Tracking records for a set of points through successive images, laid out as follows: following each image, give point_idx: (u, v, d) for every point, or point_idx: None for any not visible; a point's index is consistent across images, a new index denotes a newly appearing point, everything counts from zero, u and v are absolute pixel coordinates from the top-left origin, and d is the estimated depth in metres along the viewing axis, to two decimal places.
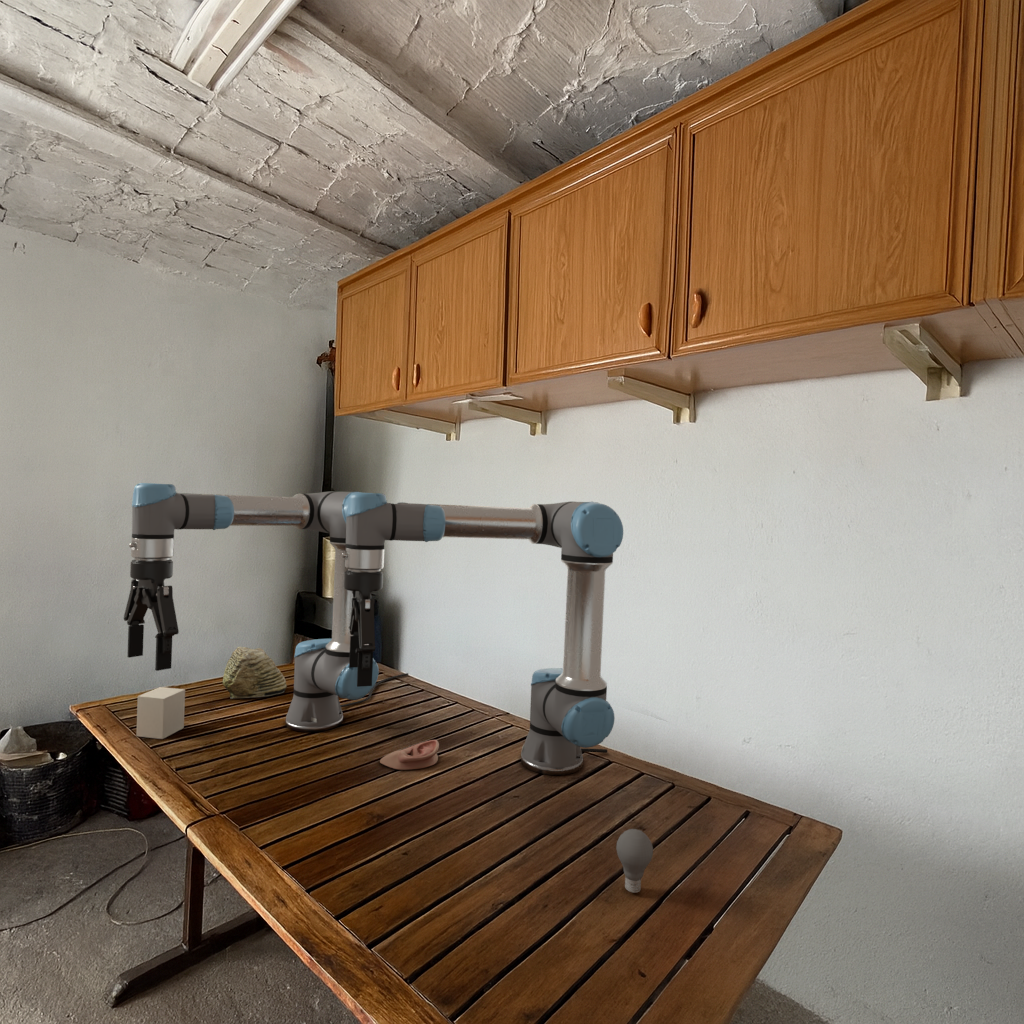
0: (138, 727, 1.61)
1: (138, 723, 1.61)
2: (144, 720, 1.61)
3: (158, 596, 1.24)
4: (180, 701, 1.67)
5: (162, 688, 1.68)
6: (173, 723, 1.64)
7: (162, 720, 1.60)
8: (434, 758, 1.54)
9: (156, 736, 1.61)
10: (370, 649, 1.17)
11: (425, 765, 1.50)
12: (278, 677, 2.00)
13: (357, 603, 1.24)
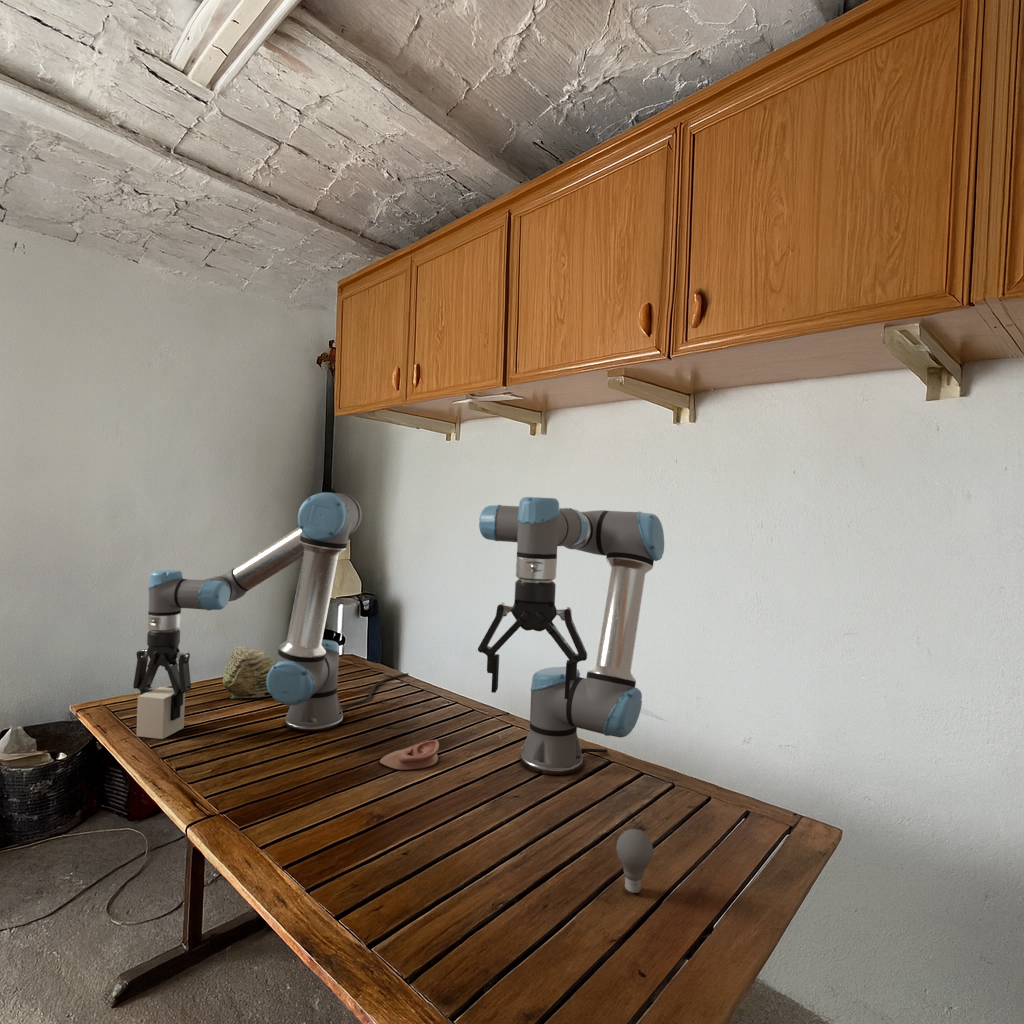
0: (138, 727, 1.61)
1: (138, 723, 1.61)
2: (144, 720, 1.61)
3: (180, 662, 1.63)
4: None
5: (162, 688, 1.68)
6: (173, 723, 1.64)
7: (162, 720, 1.60)
8: (434, 758, 1.54)
9: (156, 736, 1.61)
10: None
11: (425, 765, 1.50)
12: None
13: (543, 615, 1.16)
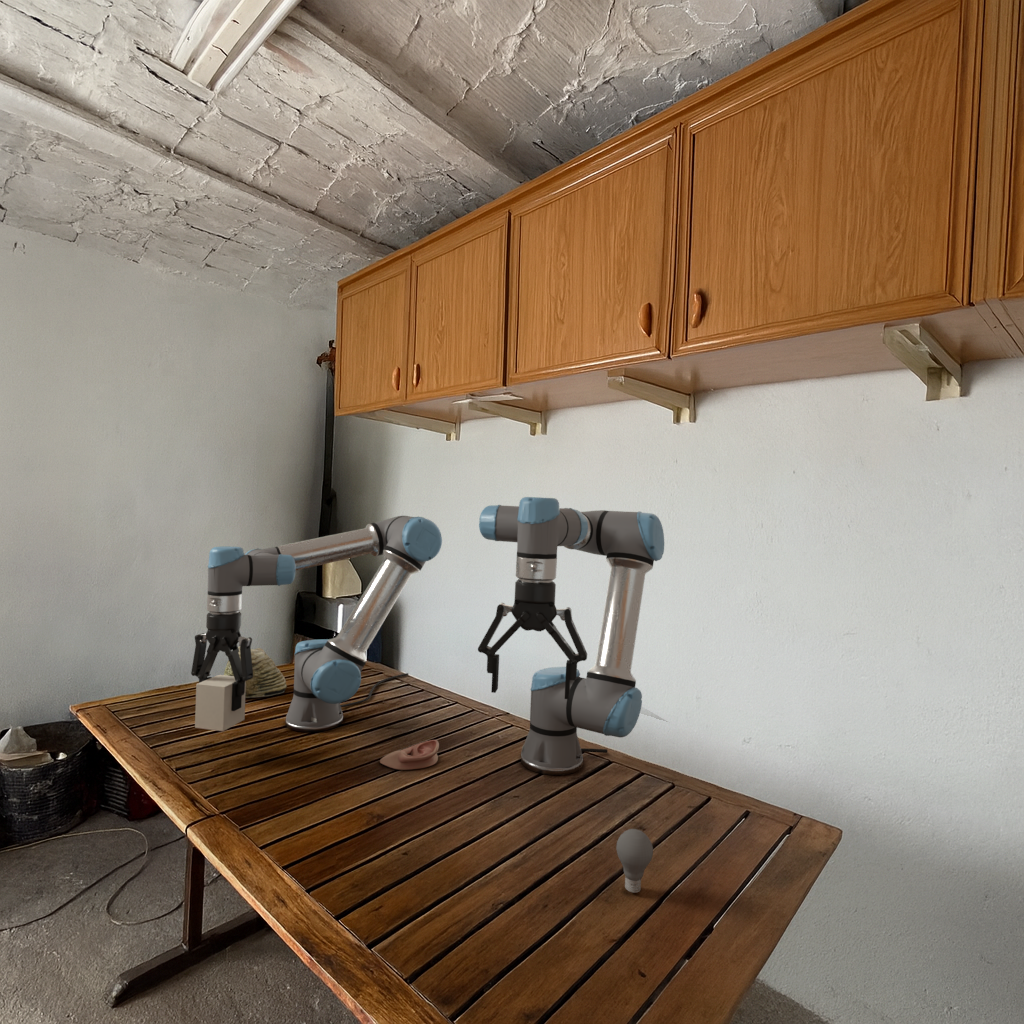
0: (197, 718, 1.47)
1: (197, 713, 1.47)
2: (203, 710, 1.47)
3: (242, 647, 1.48)
4: None
5: (221, 676, 1.54)
6: (234, 714, 1.50)
7: (223, 710, 1.46)
8: (434, 758, 1.54)
9: (216, 728, 1.46)
10: None
11: (425, 765, 1.50)
12: (278, 677, 2.00)
13: (543, 615, 1.16)
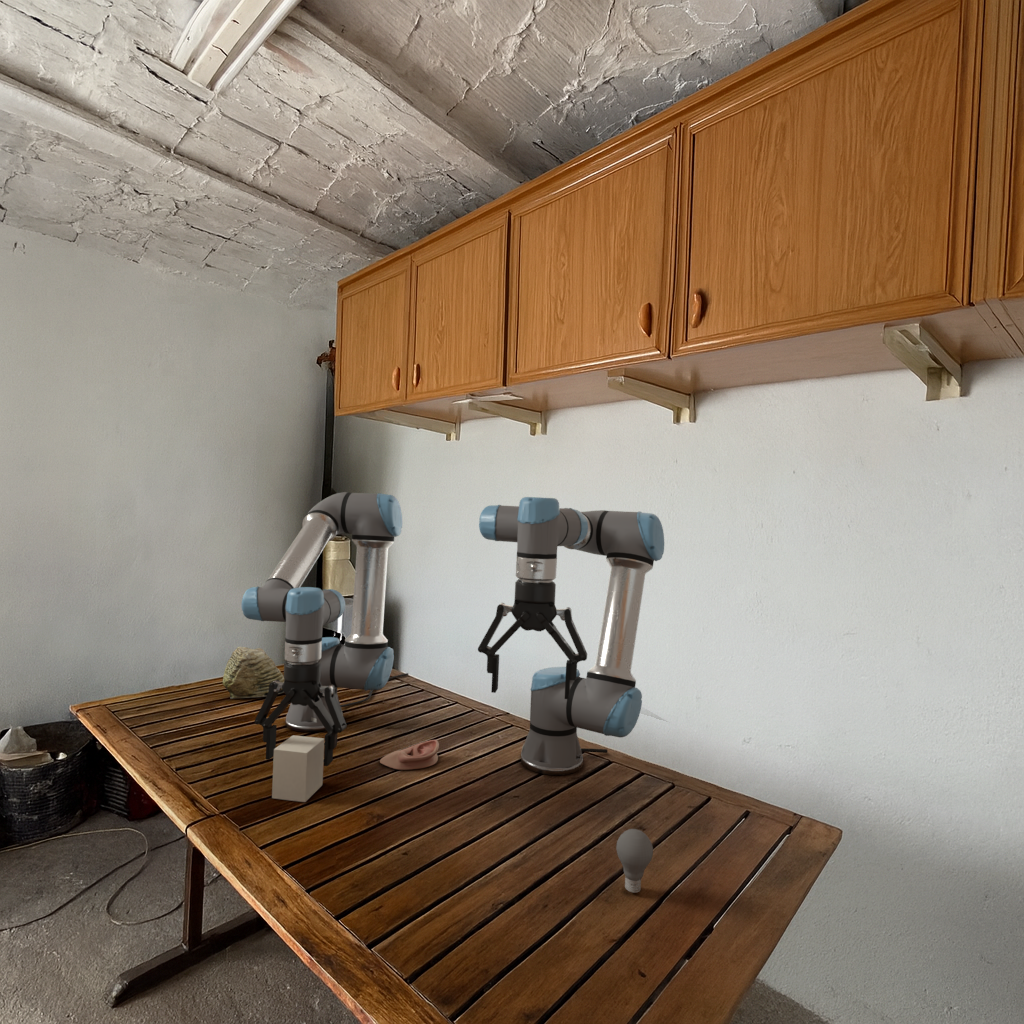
0: (274, 787, 1.32)
1: (274, 782, 1.32)
2: (282, 779, 1.32)
3: (327, 696, 1.33)
4: (320, 753, 1.37)
5: (296, 737, 1.39)
6: (314, 781, 1.35)
7: (305, 779, 1.31)
8: (434, 758, 1.54)
9: (297, 798, 1.31)
10: None
11: (425, 765, 1.50)
12: (278, 677, 2.00)
13: (543, 615, 1.16)
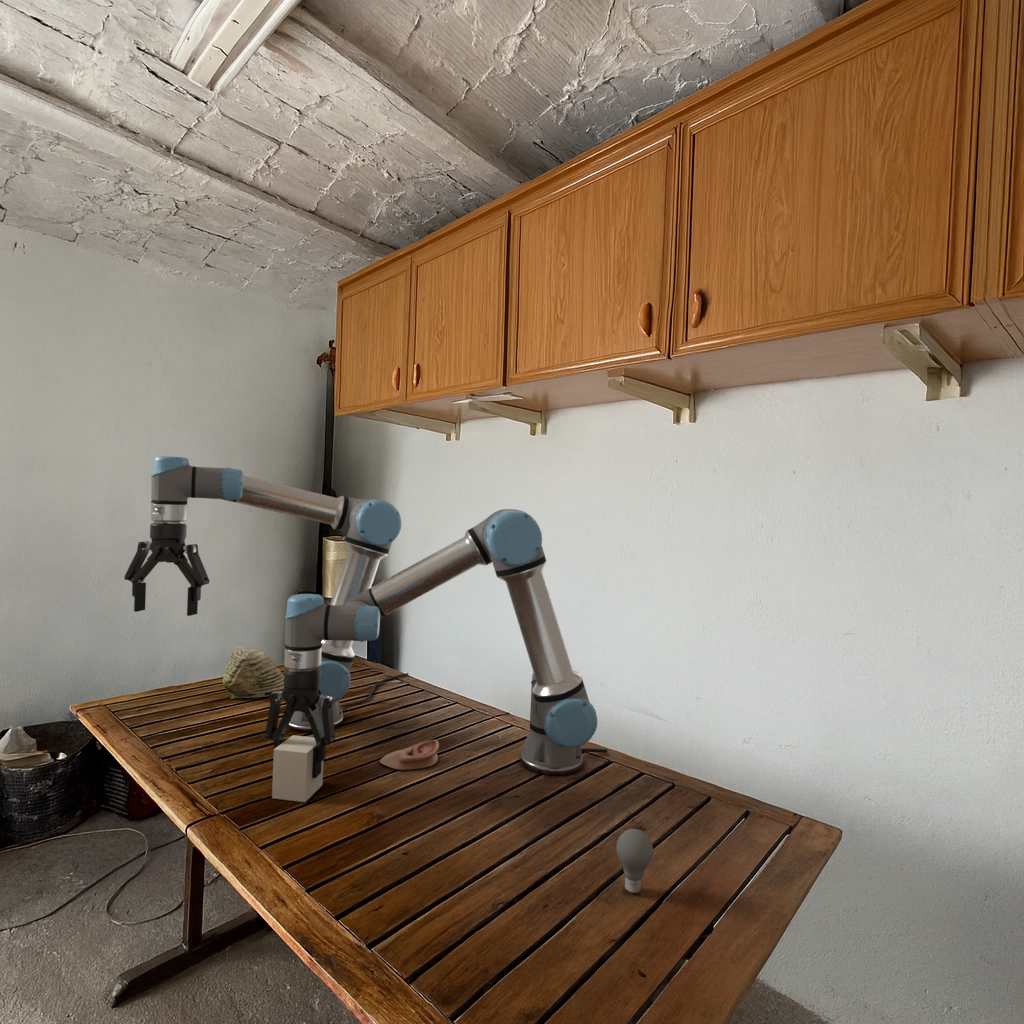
0: (274, 787, 1.32)
1: (274, 782, 1.32)
2: (282, 779, 1.32)
3: (189, 552, 1.46)
4: None
5: (296, 737, 1.39)
6: (314, 781, 1.35)
7: (305, 779, 1.31)
8: (434, 758, 1.54)
9: (297, 798, 1.31)
10: (333, 740, 1.35)
11: (425, 765, 1.50)
12: (278, 677, 2.00)
13: (307, 700, 1.34)
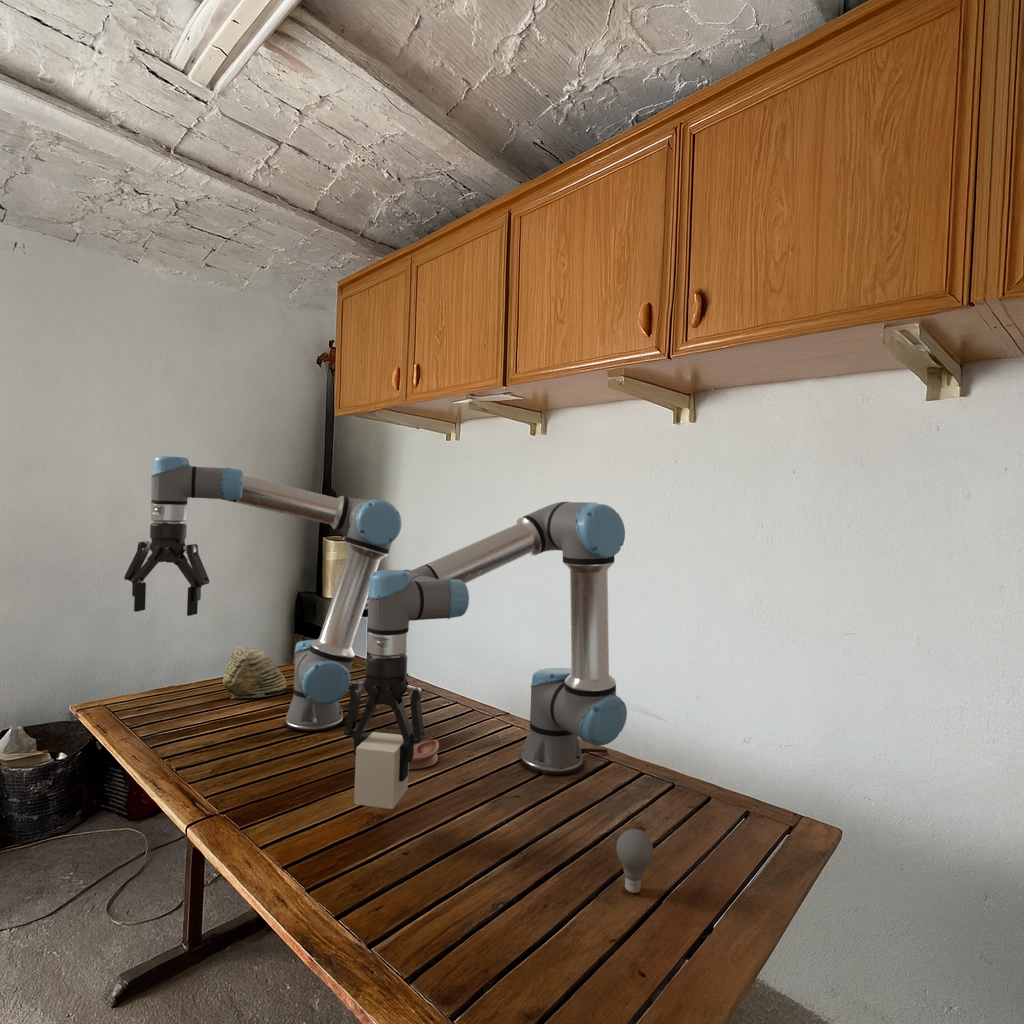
0: (357, 792, 1.15)
1: (357, 786, 1.15)
2: (365, 782, 1.14)
3: (189, 552, 1.46)
4: None
5: (378, 734, 1.21)
6: (400, 784, 1.17)
7: (392, 782, 1.14)
8: (434, 758, 1.54)
9: (383, 805, 1.14)
10: (422, 738, 1.17)
11: (425, 765, 1.50)
12: (278, 677, 2.00)
13: (393, 691, 1.16)
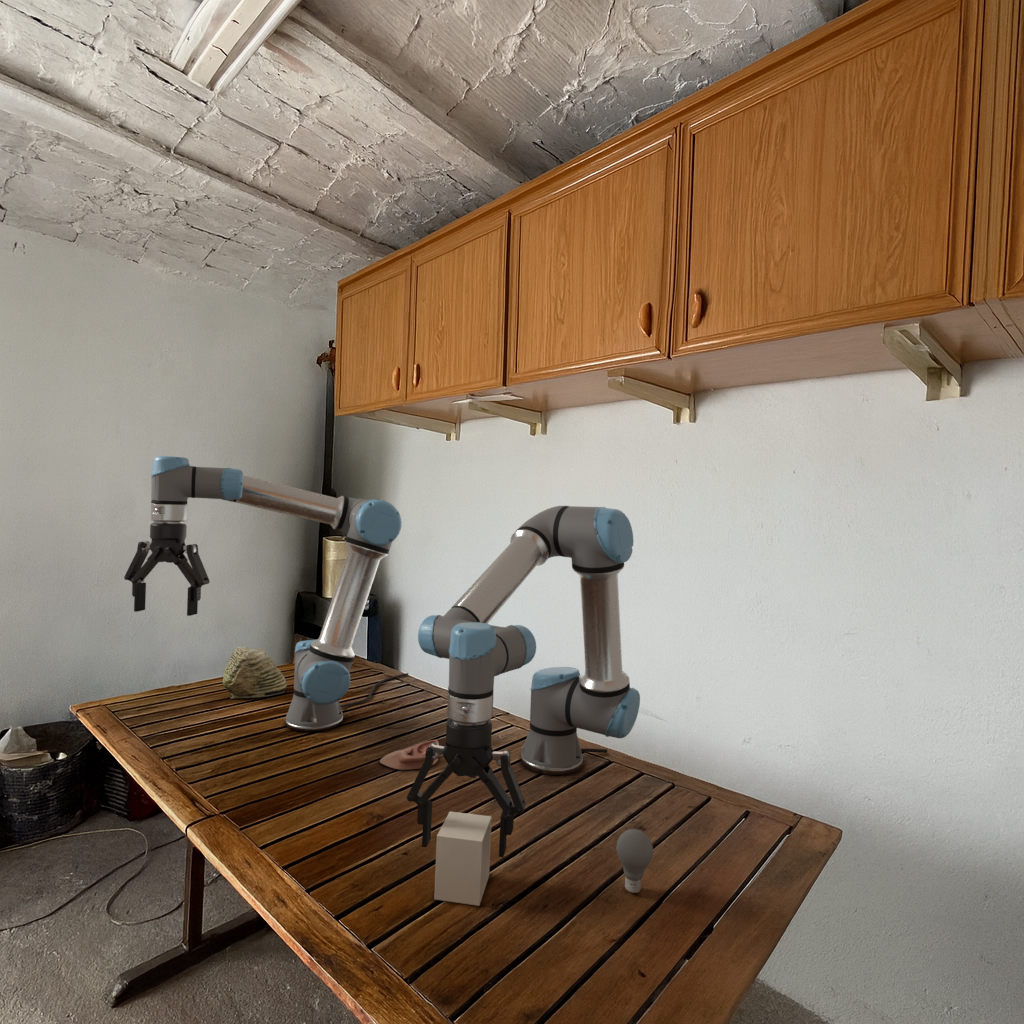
0: (438, 885, 1.01)
1: (438, 879, 1.01)
2: (448, 875, 1.01)
3: (189, 552, 1.46)
4: (489, 837, 1.06)
5: (456, 814, 1.08)
6: (485, 874, 1.04)
7: (479, 876, 1.00)
8: None
9: (468, 901, 1.00)
10: (524, 807, 1.03)
11: None
12: (278, 677, 2.00)
13: (478, 761, 1.03)
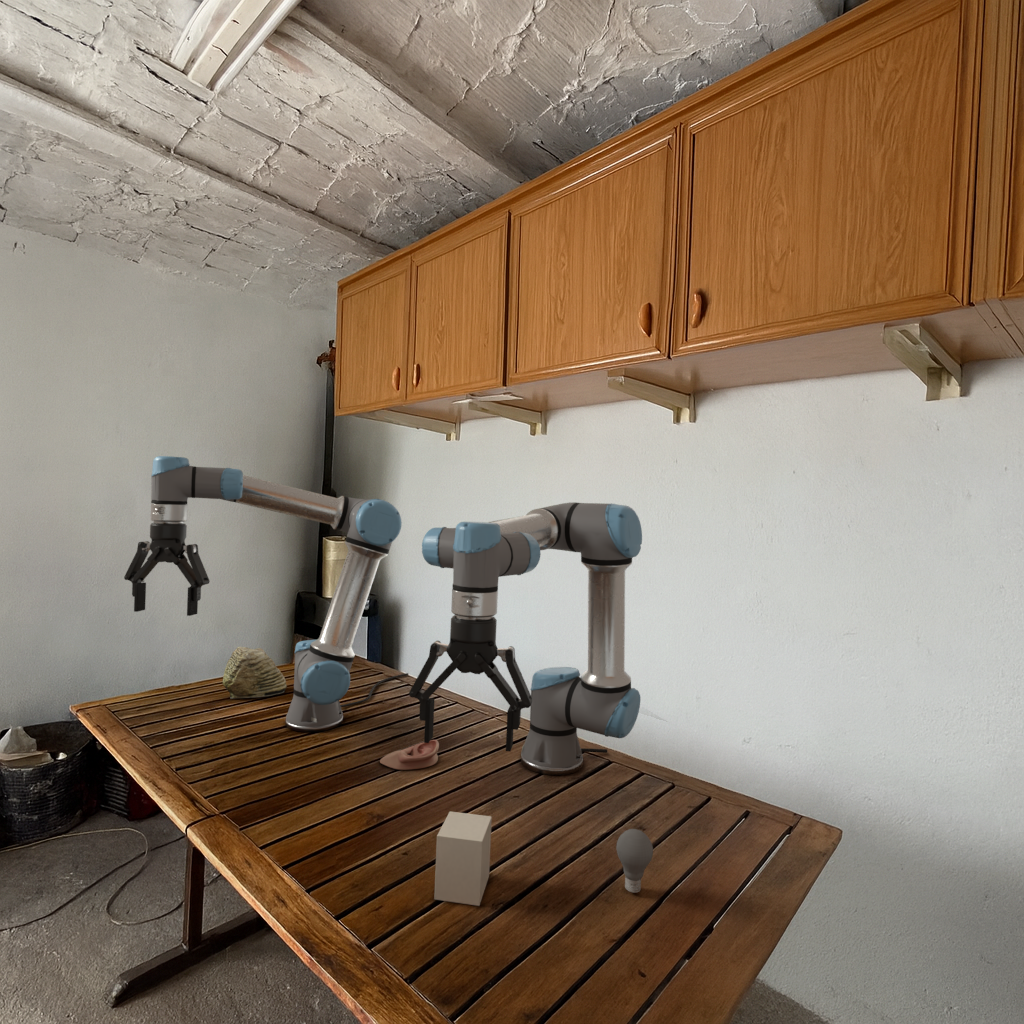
0: (438, 885, 1.01)
1: (438, 879, 1.01)
2: (448, 875, 1.01)
3: (189, 552, 1.46)
4: (489, 837, 1.06)
5: (456, 814, 1.08)
6: (485, 874, 1.04)
7: (479, 876, 1.00)
8: (434, 758, 1.54)
9: (468, 901, 1.00)
10: (531, 702, 1.03)
11: (425, 765, 1.50)
12: (278, 677, 2.00)
13: (482, 656, 1.02)
